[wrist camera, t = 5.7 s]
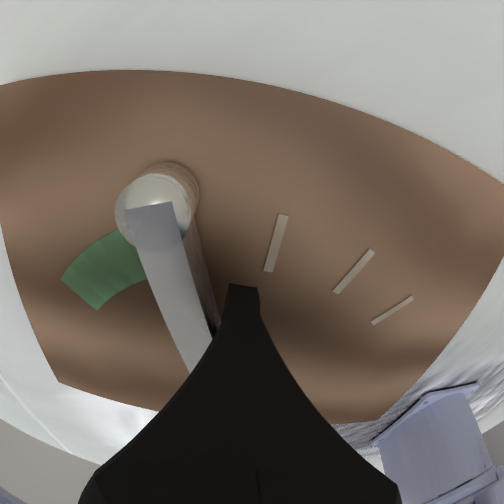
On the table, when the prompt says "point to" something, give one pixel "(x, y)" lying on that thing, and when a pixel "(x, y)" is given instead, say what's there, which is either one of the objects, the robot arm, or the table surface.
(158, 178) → the dial pointer
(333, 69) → the table surface
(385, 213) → the dial board
